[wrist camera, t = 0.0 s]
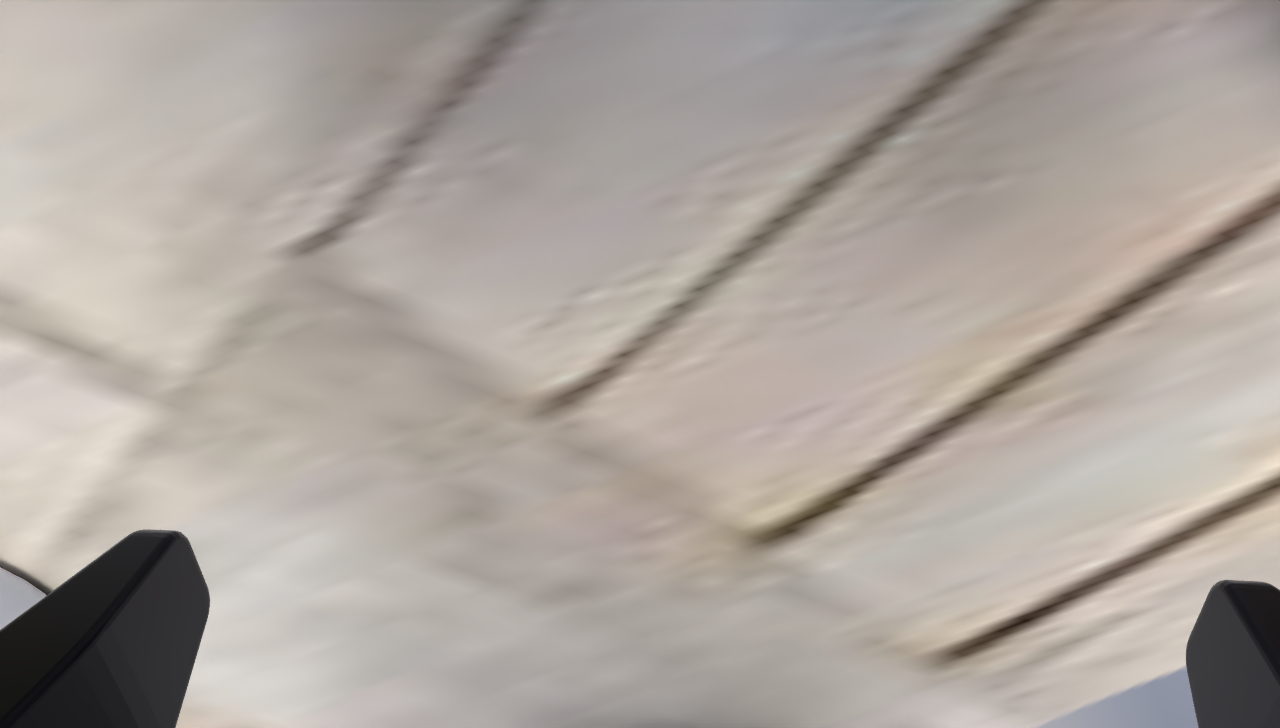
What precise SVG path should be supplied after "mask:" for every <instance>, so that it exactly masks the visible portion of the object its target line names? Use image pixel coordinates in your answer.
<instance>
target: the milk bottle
mask: <svg viewBox="0 0 1280 728" xmlns="http://www.w3.org/2000/svg"><path fill="white" fill-rule="evenodd" d="M45 596H47V595H46V594H45V593H43V592H42V591H40V590H39V589H37V588H36V587H34V586H33V585H31V584H30V583H28V582H27V581H26V580H24V579H22V578H20V577H18V576H16V575H14V574H12V573H10V572H8V571H7V570H5V569H3V568H0V630H1V629H2V628H3V627H5V626H6V625H7V624H9V623H10V622H12V621H13V620H14V619H16V618H17V617H18V616H20V615H21V614H22V613H24V612H25V611H26V610H28V609H29V608H30V607H32V606H33V605H35V604H36V603H37V602H39V601H40V600H41V599H43V598H44V597H45Z"/></svg>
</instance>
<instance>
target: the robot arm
mask: <svg viewBox="0 0 1280 728" xmlns="http://www.w3.org/2000/svg"><path fill="white" fill-rule="evenodd" d="M209 607H210V597H209V591H208V587H207V585H206V582H205V580H204V577H203V575H202V572H201V570H200V567H199V565H198V562H197V560H196V557H195V555H194V552H193V550H192V547H191V545H190V542H189V540H188V539H187V537H186V536H184V535H183V534H182V533H181V532H178V531H167V530H139V531H136V532H133V533H131V534H130V535H128V536H127V537H125V538H124V539H123V540H121V541H120V542H118V543H117V544H116V545H114V546H113V547H112V548H110V549H109V550H108V551H106V552H105V553H104V554H102V555H101V556H100V557H98V558H97V559H95V560H94V561H93V562H91V563H90V564H89V565H87V566H86V567H85V568H83V569H82V570H81V571H79V572H78V573H77V574H75V575H74V576H72V577H71V578H70V579H68V580H67V581H66V582H64V583H63V584H62V585H60V586H59V587H58V588H56V589H55V590H53V591H52V592H51V593H49V594H48V595H47V596H45V597H44V598H43V599H41V600H40V601H39V602H37V603H36V604H35V605H33V606H32V607H30V608H29V609H28V610H26V611H25V612H24V613H22V614H21V615H20V616H18V617H17V618H16V619H14V620H13V621H12V622H10V623H9V624H7V625H6V626H5V627H3V628H2V629H1V630H0V728H175V727H176V724H177V720H178V717H179V713H180V710H181V707H182V703H183V700H184V697H185V693H186V690H187V686H188V683H189V680H190V676H191V673H192V669H193V666H194V663H195V659H196V656H197V652H198V649H199V646H200V642H201V639H202V635H203V632H204V629H205V625H206V622H207V618H208V614H209ZM1186 666H1187V672H1188V677H1189V682H1190V687H1191V692H1192V697H1193V702H1194V707H1195V713H1196V718H1197V722H1198V728H1280V590H1279V589H1277V588H1276V587H1274V586H1273V585H1271V584H1268V583H1265V582H1257V581H1235V580H1223V581H1219V582H1218V583H1216V584H1215V585H1214V586H1213V587H1212V588H1211V590H1210V592H1209V594H1208V596H1207V598H1206V601H1205V603H1204V605H1203V608H1202V610H1201V612H1200V614H1199V617H1198V619H1197V621H1196V623H1195V626H1194V628H1193V630H1192V633H1191V635H1190V637H1189V640H1188V643H1187V649H1186Z"/></svg>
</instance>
